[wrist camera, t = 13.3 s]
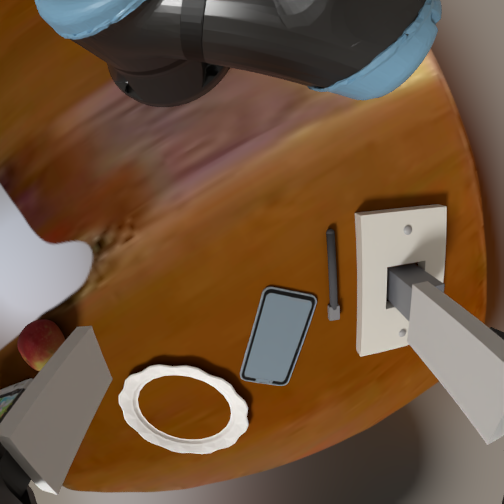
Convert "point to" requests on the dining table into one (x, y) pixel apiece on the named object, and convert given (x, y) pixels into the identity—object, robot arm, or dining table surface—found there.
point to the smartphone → (277, 335)
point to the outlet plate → (392, 254)
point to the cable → (332, 277)
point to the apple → (39, 342)
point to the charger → (406, 285)
